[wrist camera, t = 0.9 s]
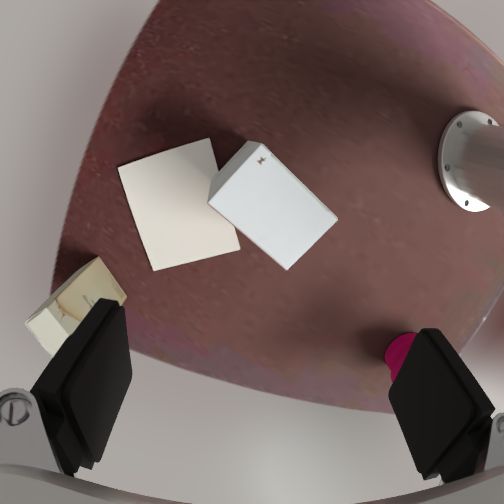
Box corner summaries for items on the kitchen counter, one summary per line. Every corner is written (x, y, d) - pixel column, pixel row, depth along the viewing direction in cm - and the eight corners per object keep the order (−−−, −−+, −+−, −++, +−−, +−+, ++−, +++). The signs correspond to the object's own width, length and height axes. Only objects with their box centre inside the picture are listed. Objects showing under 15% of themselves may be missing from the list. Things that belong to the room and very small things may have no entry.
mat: (209, 137, 30) (209, 137, 29) (240, 248, 34) (240, 249, 34) (118, 167, 30) (117, 167, 30) (154, 269, 35) (153, 271, 34)
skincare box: (128, 296, 36) (91, 360, 25) (103, 310, 37) (64, 372, 25) (98, 253, 34) (46, 306, 23) (74, 270, 35) (22, 323, 23)
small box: (210, 180, 31) (202, 202, 21) (248, 138, 30) (260, 140, 20) (268, 231, 33) (286, 274, 24) (305, 193, 32) (340, 219, 22)
